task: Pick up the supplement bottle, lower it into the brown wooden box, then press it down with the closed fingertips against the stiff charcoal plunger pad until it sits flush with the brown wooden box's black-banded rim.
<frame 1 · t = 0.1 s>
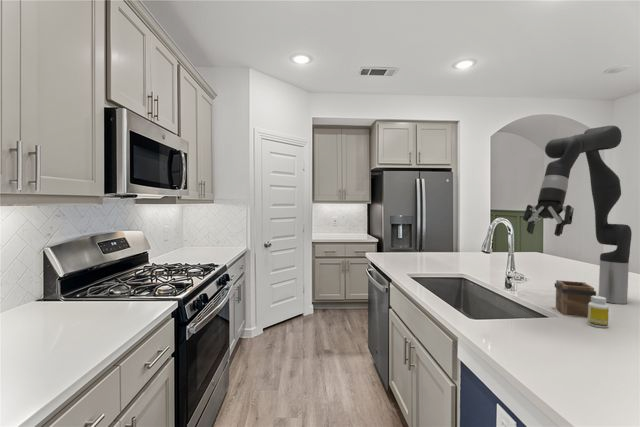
hand: (542, 234, 112), 31 cm above the worktop, tool tilted 20°, fingers open, 8 cm apart
brown wooden box: (573, 312, 126), on the worktop
supplement bottle: (597, 325, 113), on the worktop
plunger: (573, 300, 126), point 4 cm above the worktop, slide at 0.0 cm
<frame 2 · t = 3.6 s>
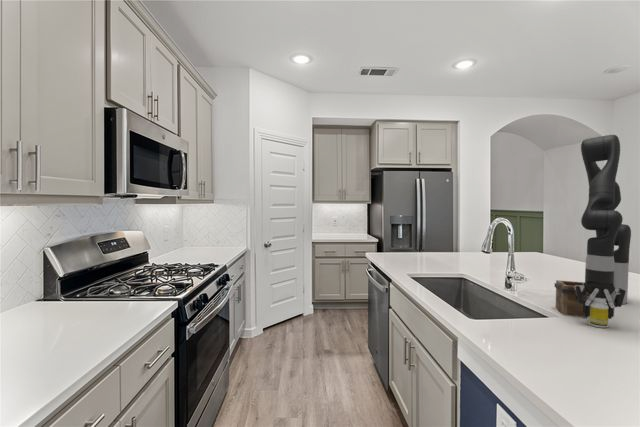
hand: (597, 316, 112), 3 cm above the worktop, tool pointing down, fingers closed on supplement bottle, 5 cm apart
supplement bottle: (597, 325, 113), on the worktop, touching gripper
everything else where it was.
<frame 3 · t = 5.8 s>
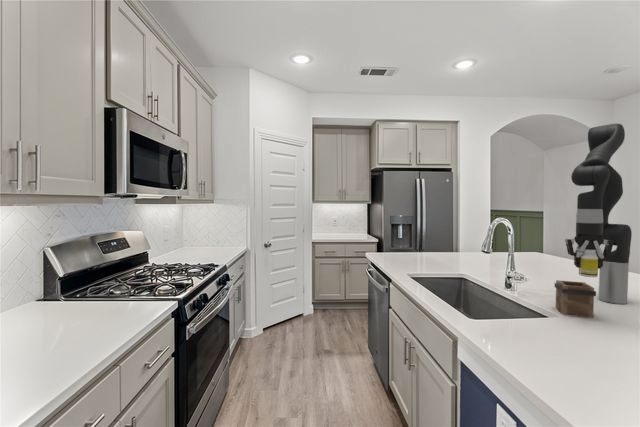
hand: (588, 267, 119), 19 cm above the worktop, tool pointing down, fingers closed on supplement bottle, 5 cm apart
supplement bottle: (588, 276, 119), point 15 cm above the worktop, touching gripper
everything else where it was.
when the fingers open (12 cm above the worktop, at t = 8.1 s): supplement bottle drops 8 cm, resting on plunger.
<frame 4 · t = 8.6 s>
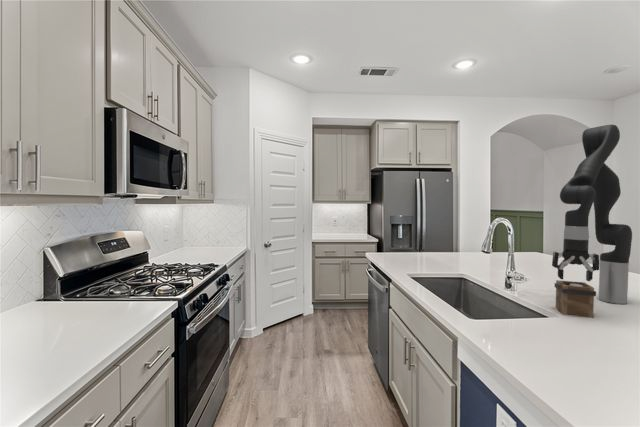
hand: (574, 279, 125), 13 cm above the worktop, tool pointing down, fingers open, 8 cm apart
supplement bottle: (575, 310, 126), point 1 cm above the worktop, touching plunger
plunger: (573, 311, 126), resting in brown wooden box, slide at 4.0 cm, touching supplement bottle
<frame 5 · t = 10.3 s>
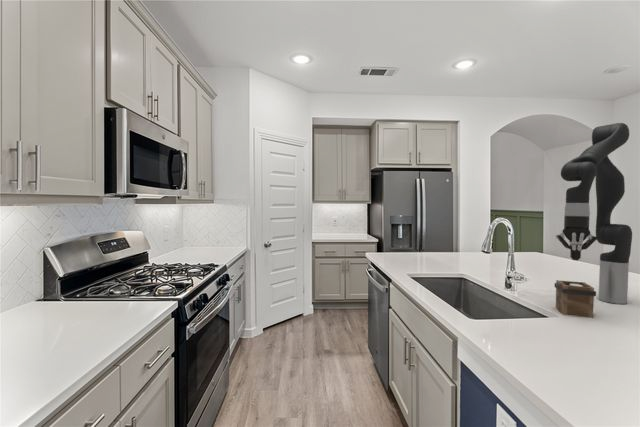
hand: (575, 259, 125), 20 cm above the worktop, tool pointing down, fingers closed
nothing on the worktop moved.
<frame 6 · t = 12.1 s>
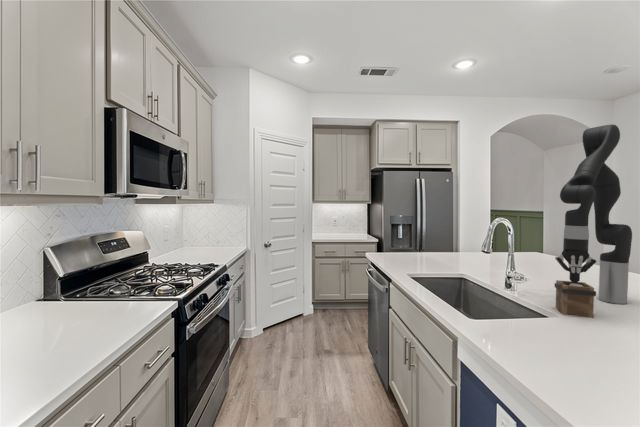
hand: (574, 282, 125), 12 cm above the worktop, tool pointing down, fingers closed
nothing on the worktop moved.
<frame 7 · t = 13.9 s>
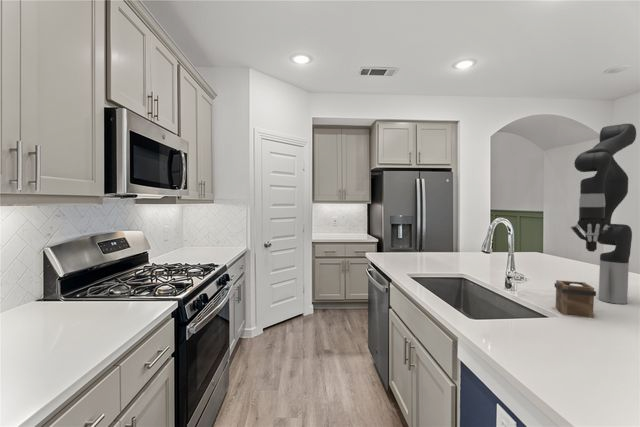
hand: (591, 251, 124), 24 cm above the worktop, tool pointing down, fingers closed
nothing on the worktop moved.
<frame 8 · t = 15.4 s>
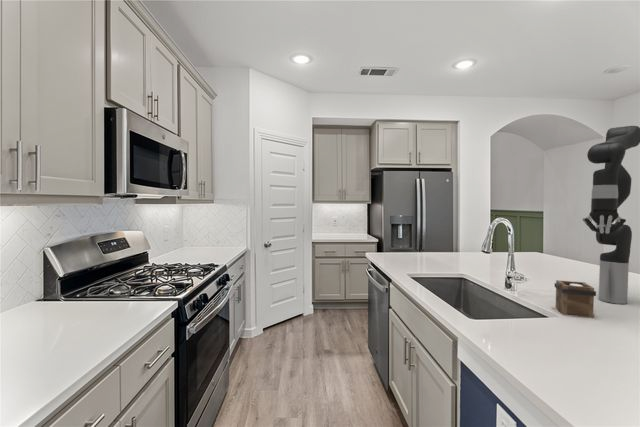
hand: (602, 243, 123), 27 cm above the worktop, tool pointing down, fingers closed
supplement bottle: (575, 310, 126), point 1 cm above the worktop
plunger: (573, 311, 126), resting in brown wooden box, slide at 4.0 cm
at the end: plunger slide at 4.0 cm; supplement bottle 0.5 cm off-centre on the brown wooden box, point 0.8 cm above the brown wooden box's base; supplement bottle tilted 0° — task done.
